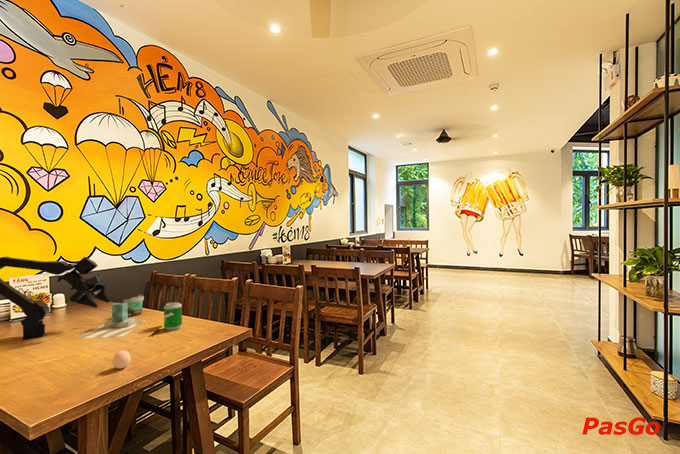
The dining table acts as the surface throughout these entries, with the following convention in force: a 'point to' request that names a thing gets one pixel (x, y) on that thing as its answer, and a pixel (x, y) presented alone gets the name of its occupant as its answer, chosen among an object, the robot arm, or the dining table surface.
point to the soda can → (172, 316)
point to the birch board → (110, 331)
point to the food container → (134, 305)
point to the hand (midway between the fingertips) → (103, 304)
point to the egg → (121, 359)
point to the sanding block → (119, 317)
